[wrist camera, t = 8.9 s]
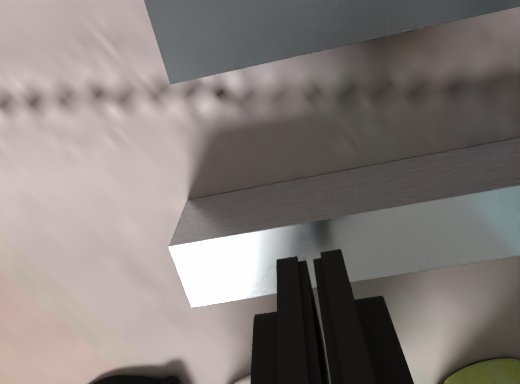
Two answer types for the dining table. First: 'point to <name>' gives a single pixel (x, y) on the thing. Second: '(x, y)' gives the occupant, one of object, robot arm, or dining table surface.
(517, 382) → the plant pot
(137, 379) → the black c clamp
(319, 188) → the rail
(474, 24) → the dining table surface
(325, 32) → the hole plate
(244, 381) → the beer glass
